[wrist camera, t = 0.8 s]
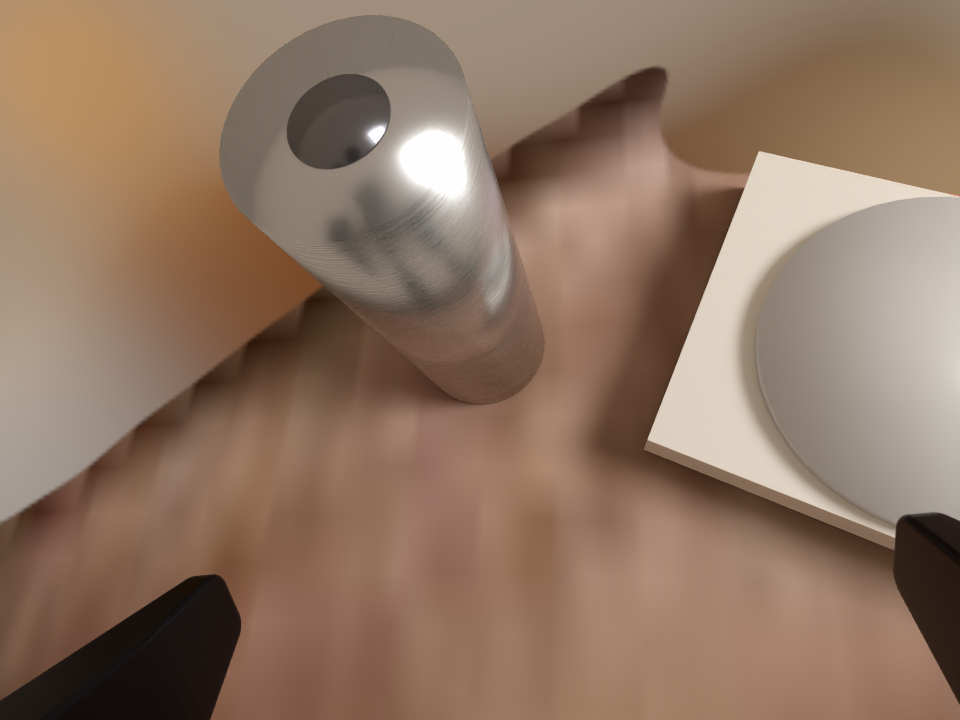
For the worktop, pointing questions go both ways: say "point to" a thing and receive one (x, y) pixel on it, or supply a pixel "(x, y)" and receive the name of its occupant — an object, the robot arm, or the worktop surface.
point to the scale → (827, 351)
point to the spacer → (388, 197)
